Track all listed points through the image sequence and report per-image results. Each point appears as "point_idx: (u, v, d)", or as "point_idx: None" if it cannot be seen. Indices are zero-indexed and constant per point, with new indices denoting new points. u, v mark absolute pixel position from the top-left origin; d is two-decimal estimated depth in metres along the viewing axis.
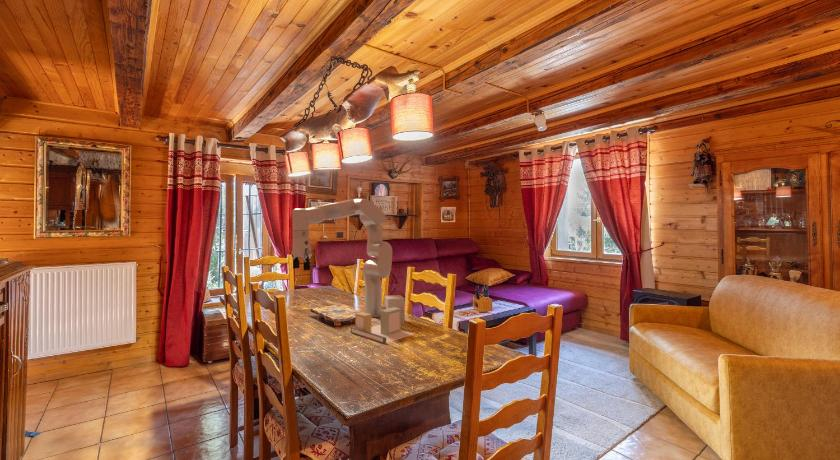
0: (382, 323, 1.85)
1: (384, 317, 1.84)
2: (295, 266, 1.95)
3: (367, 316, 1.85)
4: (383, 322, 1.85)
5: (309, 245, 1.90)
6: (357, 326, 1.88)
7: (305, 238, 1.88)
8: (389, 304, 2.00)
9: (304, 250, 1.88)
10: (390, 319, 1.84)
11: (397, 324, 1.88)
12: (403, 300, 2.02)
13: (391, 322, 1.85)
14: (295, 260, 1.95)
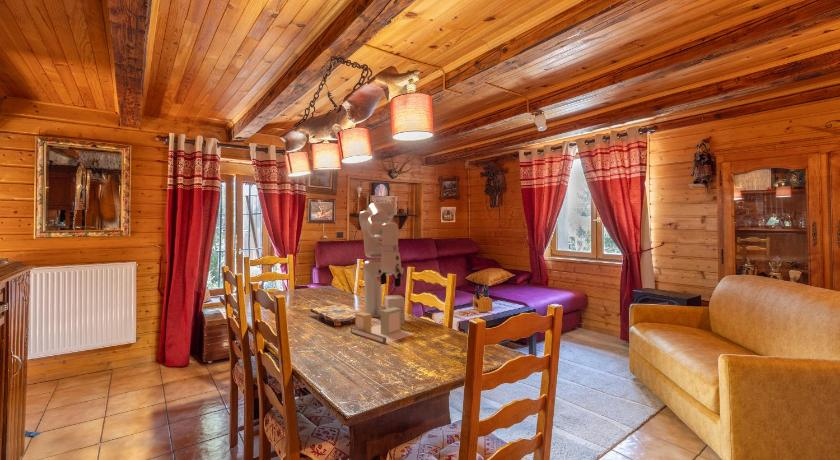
0: (382, 323, 1.85)
1: (384, 317, 1.84)
2: (383, 282, 1.90)
3: (367, 316, 1.85)
4: (383, 322, 1.85)
5: (399, 260, 1.84)
6: (357, 326, 1.88)
7: (396, 253, 1.83)
8: (389, 304, 2.00)
9: (395, 266, 1.82)
10: (390, 319, 1.84)
11: (397, 324, 1.88)
12: (403, 300, 2.02)
13: (391, 322, 1.85)
14: (383, 276, 1.90)
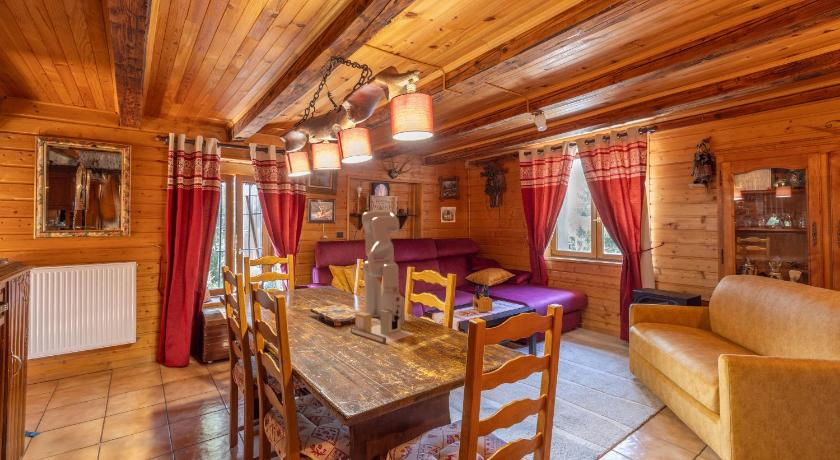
0: (382, 323, 1.85)
1: (384, 317, 1.84)
2: None
3: (367, 316, 1.85)
4: (383, 322, 1.85)
5: (400, 302, 1.85)
6: (357, 326, 1.88)
7: (396, 295, 1.84)
8: None
9: (396, 307, 1.83)
10: (390, 319, 1.85)
11: None
12: (403, 300, 2.02)
13: (391, 322, 1.85)
14: None
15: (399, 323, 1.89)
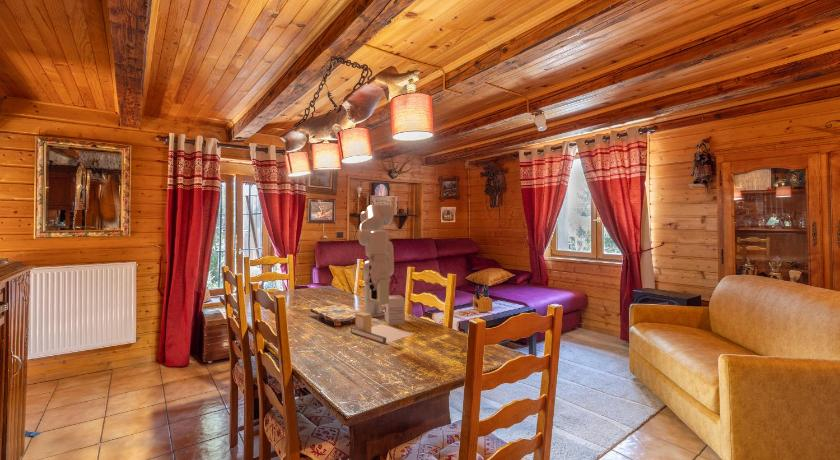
0: None
1: None
2: None
3: (367, 316, 1.85)
4: None
5: (372, 271, 1.75)
6: (357, 326, 1.88)
7: (370, 263, 1.76)
8: (389, 304, 2.00)
9: (368, 275, 1.77)
10: None
11: (377, 295, 1.77)
12: (403, 300, 2.02)
13: None
14: None
15: (379, 295, 1.76)
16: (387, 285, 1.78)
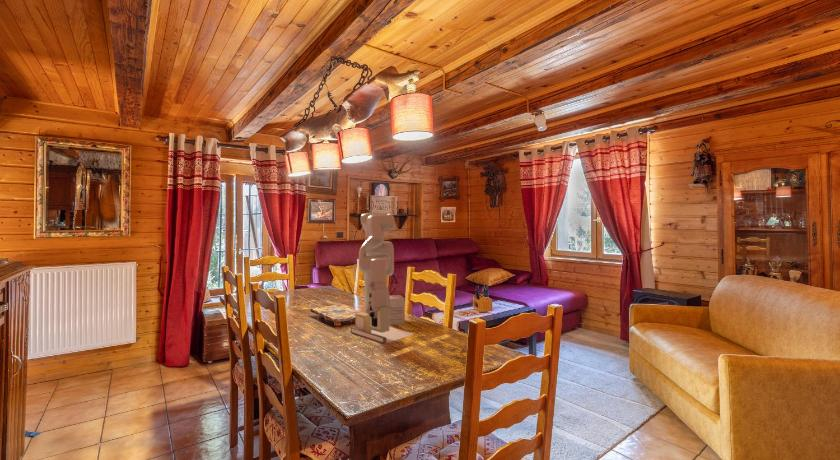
0: None
1: None
2: None
3: (367, 316, 1.85)
4: None
5: (372, 299, 1.75)
6: (357, 326, 1.88)
7: (370, 290, 1.77)
8: None
9: (368, 303, 1.77)
10: None
11: (377, 323, 1.77)
12: (403, 300, 2.02)
13: None
14: None
15: (380, 323, 1.76)
16: (387, 312, 1.78)
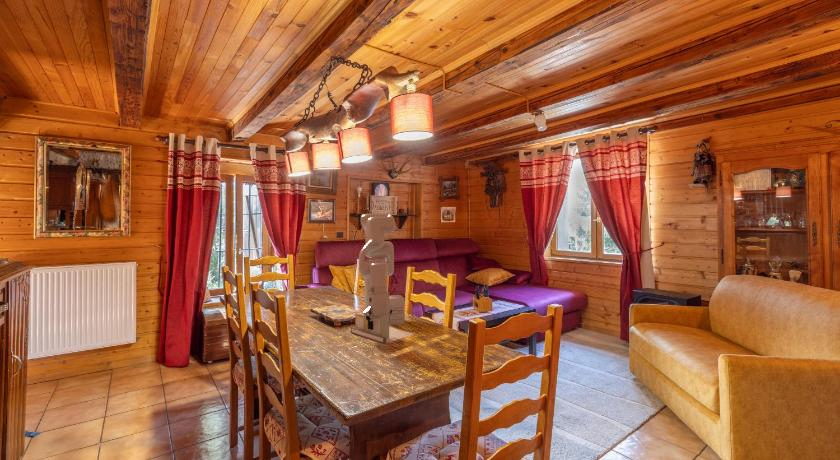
0: None
1: None
2: None
3: None
4: None
5: (372, 303, 1.75)
6: (357, 326, 1.88)
7: (370, 295, 1.77)
8: None
9: None
10: None
11: (378, 331, 1.78)
12: (403, 300, 2.02)
13: None
14: None
15: (380, 331, 1.77)
16: (387, 320, 1.78)
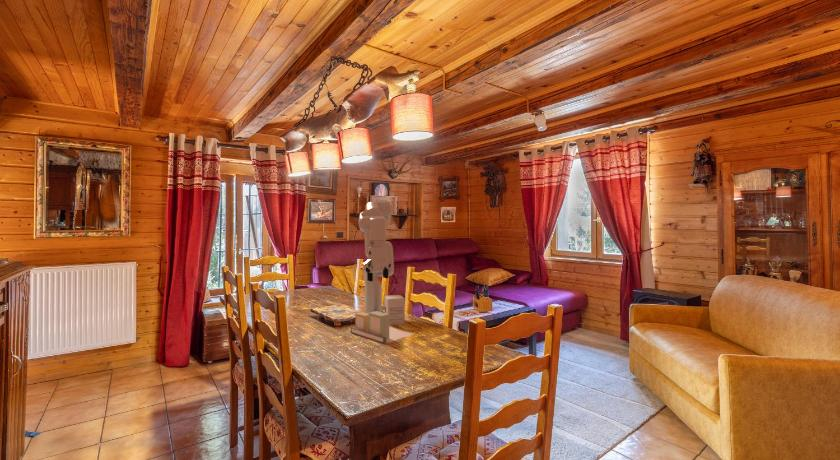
0: None
1: None
2: (384, 275, 1.92)
3: (367, 316, 1.85)
4: None
5: (372, 256, 1.83)
6: (357, 326, 1.88)
7: (370, 248, 1.84)
8: (389, 304, 2.00)
9: None
10: (371, 321, 1.80)
11: (378, 331, 1.78)
12: (403, 300, 2.02)
13: (372, 325, 1.80)
14: (384, 269, 1.92)
15: (380, 331, 1.77)
16: (387, 320, 1.78)
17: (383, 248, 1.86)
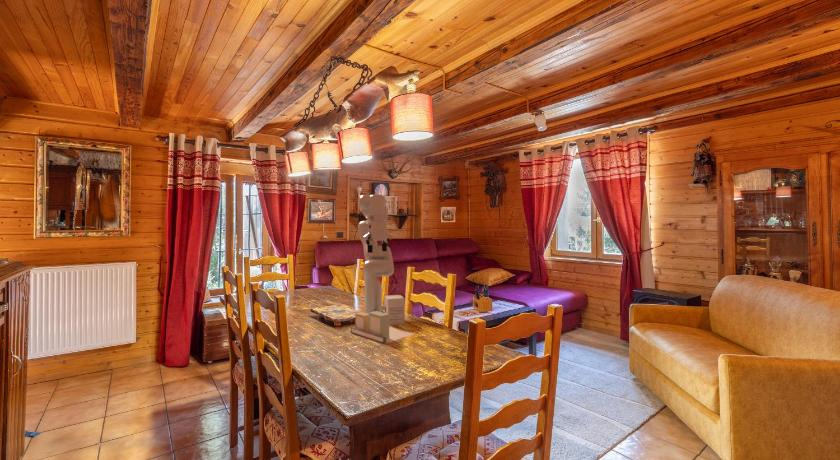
0: None
1: None
2: (382, 249, 2.07)
3: (367, 316, 1.85)
4: None
5: (371, 229, 1.98)
6: (357, 326, 1.88)
7: (370, 222, 2.00)
8: (389, 304, 2.00)
9: (368, 233, 2.00)
10: (371, 321, 1.80)
11: (378, 331, 1.78)
12: (403, 300, 2.02)
13: (372, 325, 1.80)
14: (383, 243, 2.07)
15: (380, 331, 1.77)
16: (387, 320, 1.78)
17: (382, 222, 2.02)
